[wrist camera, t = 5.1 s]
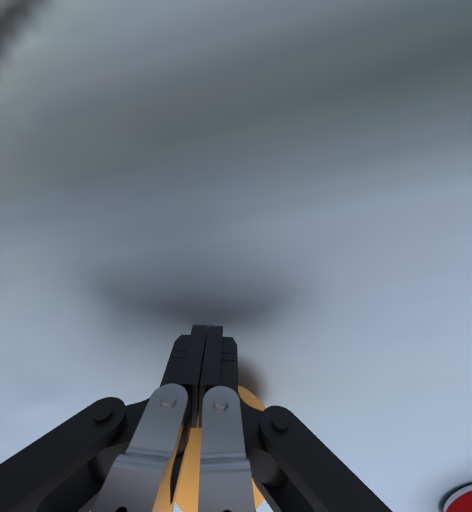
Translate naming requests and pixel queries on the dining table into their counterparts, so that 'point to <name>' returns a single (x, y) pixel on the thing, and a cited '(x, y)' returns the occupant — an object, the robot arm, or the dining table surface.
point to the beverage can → (460, 501)
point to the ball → (191, 466)
